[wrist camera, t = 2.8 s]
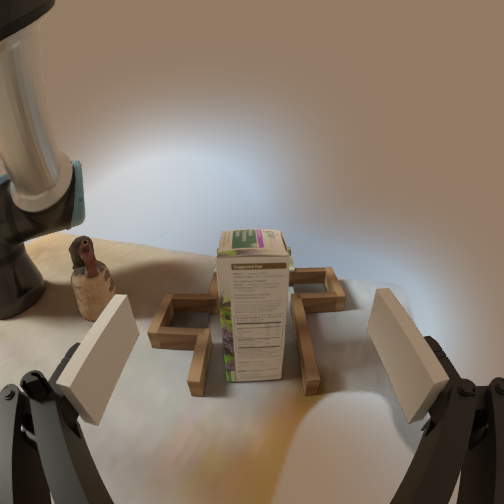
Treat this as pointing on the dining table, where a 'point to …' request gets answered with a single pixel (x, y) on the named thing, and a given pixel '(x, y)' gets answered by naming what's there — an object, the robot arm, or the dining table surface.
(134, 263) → the dining table surface
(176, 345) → the channel
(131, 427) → the dining table surface
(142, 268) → the dining table surface
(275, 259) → the syrup box
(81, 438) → the robot arm
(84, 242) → the figurine
